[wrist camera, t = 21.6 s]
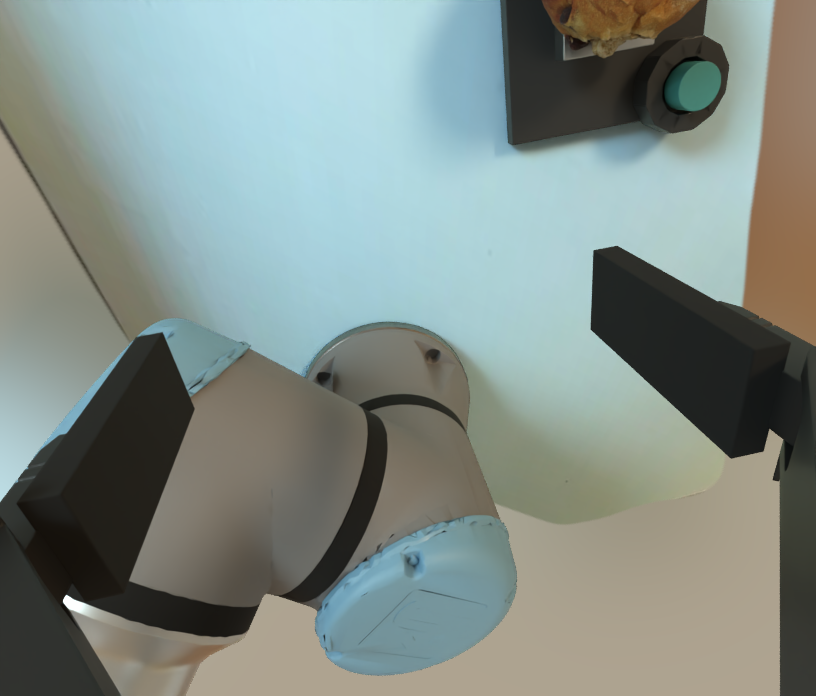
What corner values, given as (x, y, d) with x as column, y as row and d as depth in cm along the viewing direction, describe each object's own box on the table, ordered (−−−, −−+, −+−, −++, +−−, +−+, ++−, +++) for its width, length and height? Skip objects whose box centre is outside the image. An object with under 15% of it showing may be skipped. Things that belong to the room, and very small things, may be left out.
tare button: (701, 105, 36) (718, 107, 35) (661, 113, 36) (676, 115, 35) (707, 57, 35) (724, 57, 33) (665, 65, 35) (681, 65, 33)
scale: (695, 120, 39) (721, 124, 37) (508, 156, 39) (521, 162, 36) (729, -178, 31) (766, -201, 29) (492, -139, 30) (507, -159, 28)
